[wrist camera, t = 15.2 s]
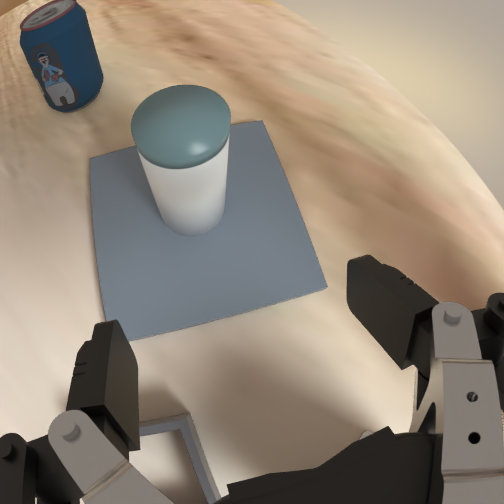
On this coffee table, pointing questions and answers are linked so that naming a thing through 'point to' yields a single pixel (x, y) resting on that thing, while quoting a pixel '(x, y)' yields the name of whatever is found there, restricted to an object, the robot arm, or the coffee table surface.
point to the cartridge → (185, 155)
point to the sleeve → (192, 445)
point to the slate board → (199, 243)
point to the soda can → (62, 55)
